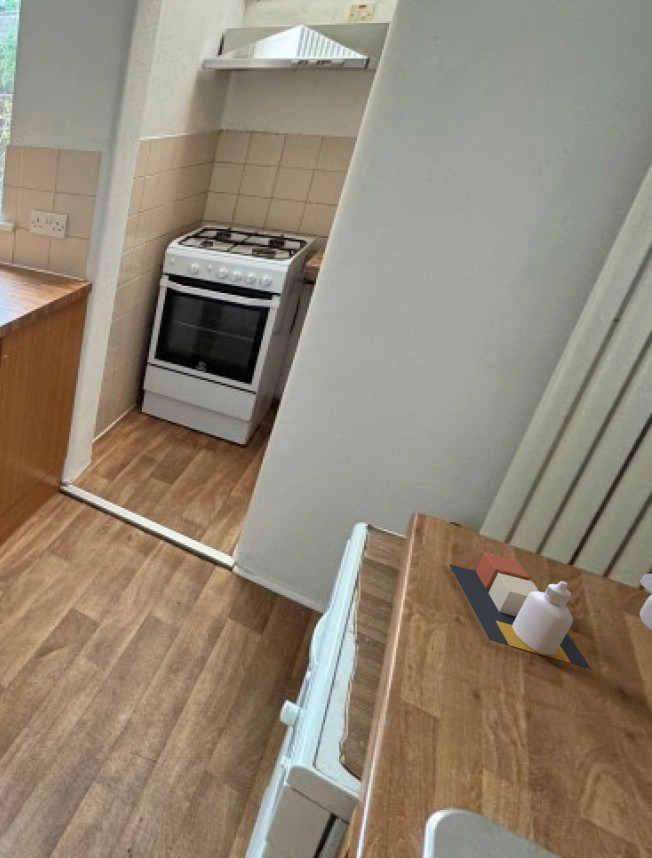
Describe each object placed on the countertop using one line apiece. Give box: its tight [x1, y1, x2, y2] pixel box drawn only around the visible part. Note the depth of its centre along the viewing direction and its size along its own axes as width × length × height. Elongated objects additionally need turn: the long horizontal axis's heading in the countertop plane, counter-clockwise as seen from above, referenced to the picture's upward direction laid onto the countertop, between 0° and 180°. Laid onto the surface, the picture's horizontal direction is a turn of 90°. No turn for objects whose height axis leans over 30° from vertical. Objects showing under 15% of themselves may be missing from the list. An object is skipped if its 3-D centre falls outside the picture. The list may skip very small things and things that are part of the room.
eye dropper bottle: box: [512, 580, 574, 656], centre depth 92 cm, size 4×6×12 cm
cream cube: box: [489, 573, 540, 617], centre depth 100 cm, size 4×4×4 cm
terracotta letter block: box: [475, 551, 531, 590], centre depth 104 cm, size 4×4×4 cm
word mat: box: [448, 564, 592, 670], centre depth 100 cm, size 12×18×1 cm, turn 155°
